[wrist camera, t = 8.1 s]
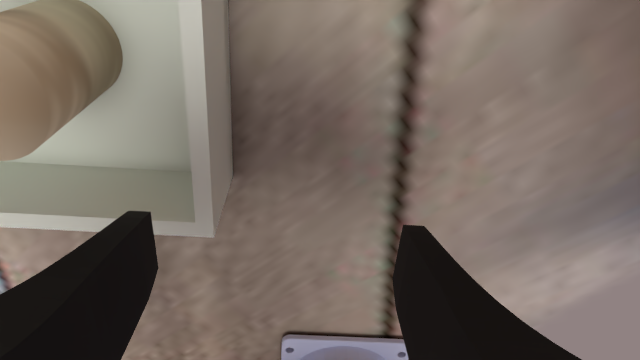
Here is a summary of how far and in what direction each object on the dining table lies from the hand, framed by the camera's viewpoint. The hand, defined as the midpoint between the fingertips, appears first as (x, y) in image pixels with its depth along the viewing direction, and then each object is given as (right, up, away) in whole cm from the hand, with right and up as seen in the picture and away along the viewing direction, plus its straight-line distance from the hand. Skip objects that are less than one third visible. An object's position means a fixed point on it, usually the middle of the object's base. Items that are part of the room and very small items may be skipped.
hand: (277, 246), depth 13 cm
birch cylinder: (-9, +7, +5) cm, 13 cm away
